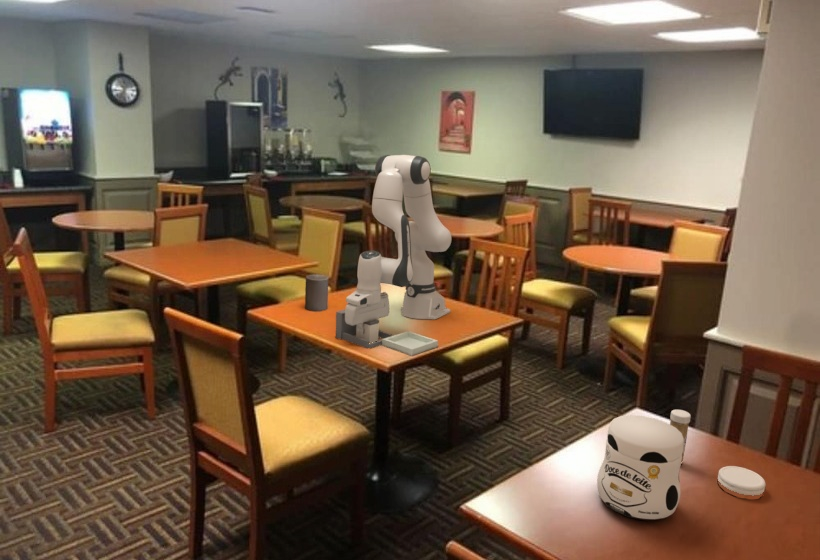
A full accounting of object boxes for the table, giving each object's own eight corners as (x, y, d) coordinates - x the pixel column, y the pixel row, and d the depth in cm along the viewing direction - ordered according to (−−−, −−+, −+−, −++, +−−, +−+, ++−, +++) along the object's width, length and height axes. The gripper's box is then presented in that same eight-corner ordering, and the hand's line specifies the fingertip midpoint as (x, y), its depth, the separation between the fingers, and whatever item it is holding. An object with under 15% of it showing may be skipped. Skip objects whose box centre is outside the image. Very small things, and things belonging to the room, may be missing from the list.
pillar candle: (300, 309, 280) (301, 274, 276) (312, 303, 289) (313, 270, 285) (320, 313, 276) (321, 278, 273) (332, 307, 285) (333, 273, 282)
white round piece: (768, 504, 150) (770, 490, 150) (720, 496, 153) (723, 482, 152) (757, 482, 160) (760, 469, 159) (713, 475, 162) (715, 462, 161)
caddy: (364, 336, 250) (365, 315, 248) (378, 341, 245) (379, 319, 243) (355, 338, 246) (356, 317, 244) (369, 343, 242) (370, 322, 240)
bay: (362, 329, 257) (363, 305, 255) (394, 340, 246) (395, 315, 244) (335, 337, 247) (336, 311, 244) (367, 349, 236) (368, 322, 234)
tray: (408, 337, 251) (408, 331, 251) (437, 346, 242) (438, 340, 242) (381, 345, 241) (382, 339, 240) (411, 355, 232) (412, 349, 231)
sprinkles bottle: (682, 468, 164) (691, 418, 161) (663, 464, 166) (671, 414, 163) (682, 460, 168) (690, 411, 165) (663, 455, 170) (671, 407, 167)
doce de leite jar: (599, 521, 140) (609, 443, 136) (591, 479, 157) (600, 409, 152) (685, 533, 138) (698, 454, 133) (667, 489, 154) (679, 418, 150)
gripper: (382, 289, 252) (380, 324, 255) (342, 298, 236) (341, 335, 240) (394, 292, 248) (392, 328, 251) (354, 302, 232) (353, 339, 236)
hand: (367, 331), depth 245 cm, fingers closed on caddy, 4 cm apart
